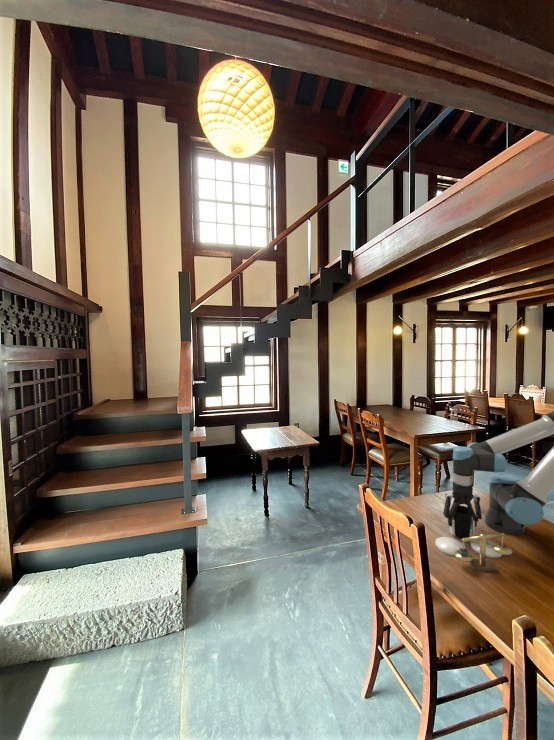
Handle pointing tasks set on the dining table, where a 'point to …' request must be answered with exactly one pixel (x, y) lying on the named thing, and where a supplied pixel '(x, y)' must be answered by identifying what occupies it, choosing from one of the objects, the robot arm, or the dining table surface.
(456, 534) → the cup
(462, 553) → the balance
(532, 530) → the dining table surface
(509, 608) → the dining table surface
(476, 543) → the white round plate
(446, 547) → the low side dish
